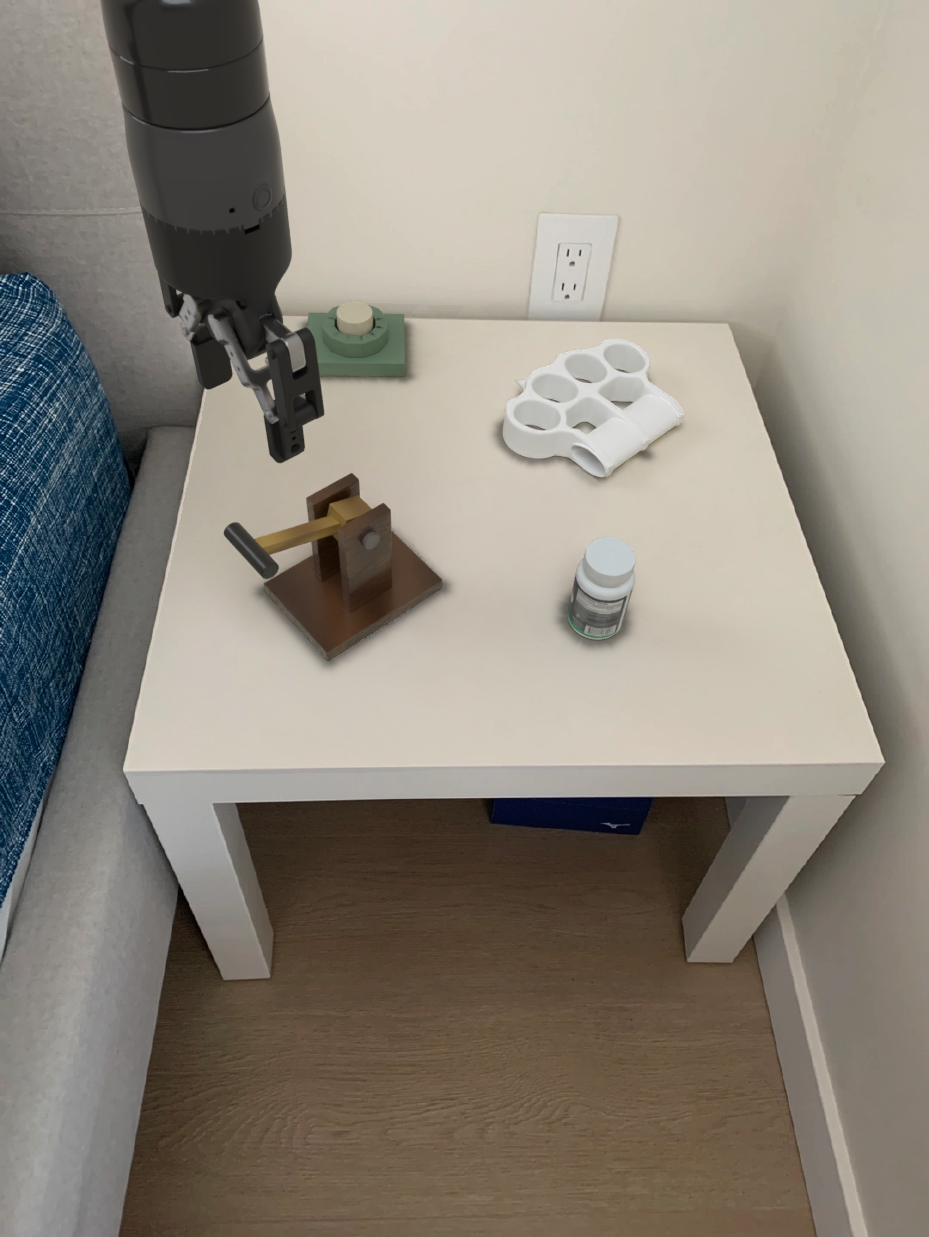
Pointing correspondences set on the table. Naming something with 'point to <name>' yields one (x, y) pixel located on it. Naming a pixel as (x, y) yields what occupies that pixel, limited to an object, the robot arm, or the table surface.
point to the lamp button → (354, 318)
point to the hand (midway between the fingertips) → (251, 418)
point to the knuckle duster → (590, 408)
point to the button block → (359, 346)
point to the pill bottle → (602, 588)
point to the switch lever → (292, 535)
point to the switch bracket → (351, 576)
